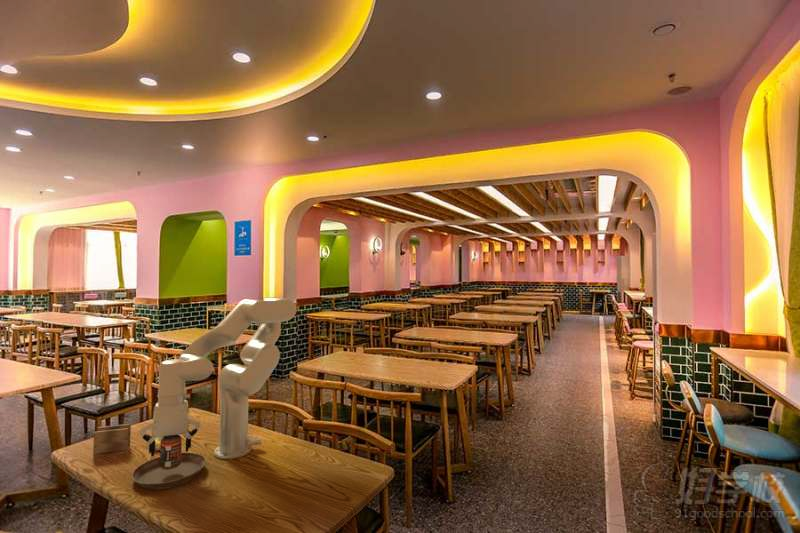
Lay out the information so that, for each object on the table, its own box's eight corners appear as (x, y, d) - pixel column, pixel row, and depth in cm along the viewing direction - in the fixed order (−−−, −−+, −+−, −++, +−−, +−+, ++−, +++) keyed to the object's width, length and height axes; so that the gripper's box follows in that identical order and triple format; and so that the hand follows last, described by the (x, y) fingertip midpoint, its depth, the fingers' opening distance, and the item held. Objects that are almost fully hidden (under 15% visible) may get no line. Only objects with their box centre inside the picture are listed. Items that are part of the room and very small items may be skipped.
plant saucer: (116, 484, 127) (116, 473, 127) (176, 456, 146) (176, 447, 146) (162, 501, 119) (162, 489, 119) (219, 469, 138) (219, 459, 138)
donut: (152, 459, 147) (181, 449, 153) (151, 448, 146) (180, 438, 152) (146, 446, 154) (174, 436, 160) (145, 435, 153) (173, 425, 159)
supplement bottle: (171, 471, 129) (172, 435, 129) (155, 469, 130) (155, 433, 130) (185, 462, 135) (185, 428, 135) (169, 460, 136) (169, 426, 136)
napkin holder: (130, 447, 151) (130, 423, 152) (127, 452, 147) (127, 428, 147) (97, 451, 148) (98, 427, 148) (93, 457, 143) (93, 432, 143)
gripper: (202, 393, 139) (200, 443, 139) (142, 398, 132) (141, 451, 132) (200, 399, 132) (199, 453, 132) (137, 405, 126) (136, 461, 125)
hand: (170, 452), depth 132 cm, fingers open, 9 cm apart
